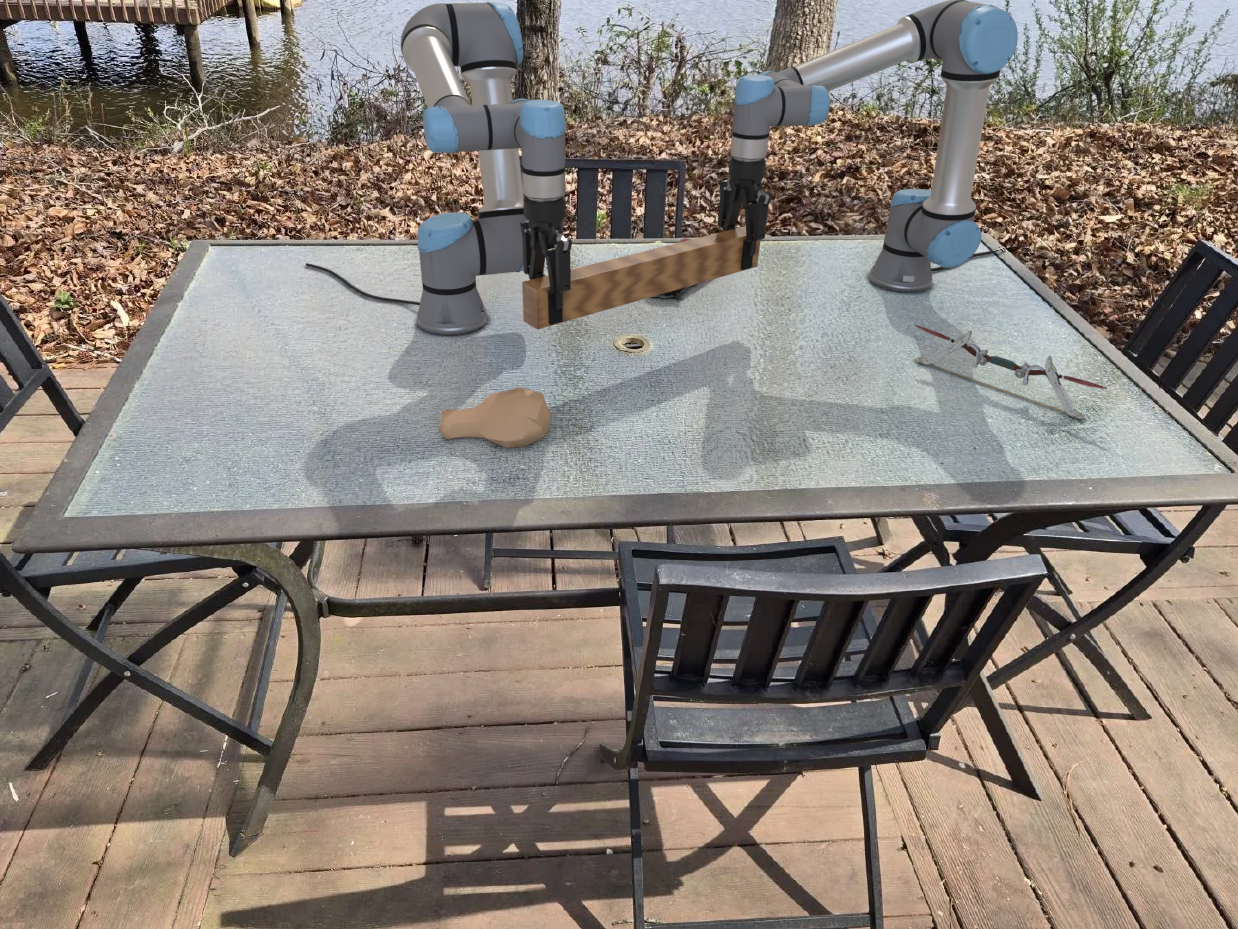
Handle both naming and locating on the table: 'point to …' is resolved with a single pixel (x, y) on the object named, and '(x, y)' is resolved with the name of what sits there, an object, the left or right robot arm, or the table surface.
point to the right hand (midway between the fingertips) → (737, 264)
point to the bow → (1020, 371)
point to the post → (639, 276)
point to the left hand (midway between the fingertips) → (547, 317)
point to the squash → (501, 419)
